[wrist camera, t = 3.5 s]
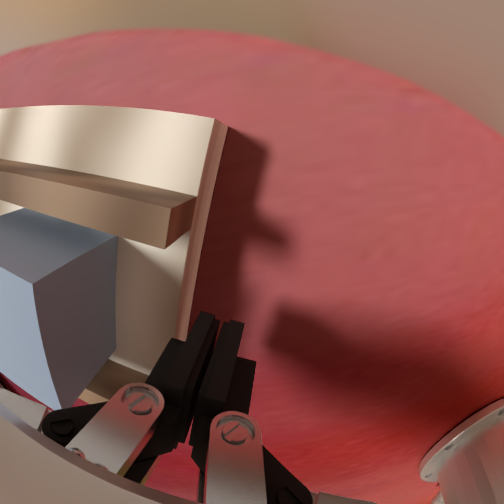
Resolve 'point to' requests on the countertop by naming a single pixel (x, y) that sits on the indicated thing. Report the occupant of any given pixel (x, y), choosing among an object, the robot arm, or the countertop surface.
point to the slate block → (55, 304)
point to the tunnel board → (122, 209)
